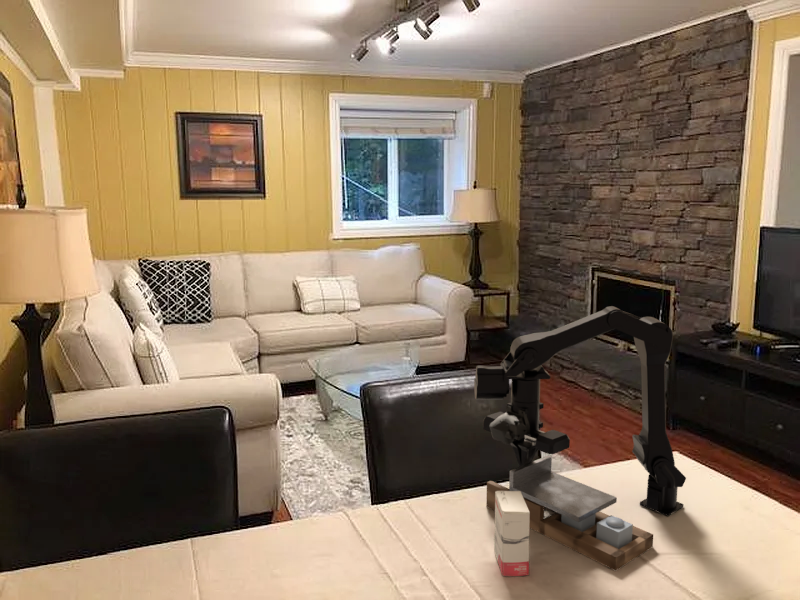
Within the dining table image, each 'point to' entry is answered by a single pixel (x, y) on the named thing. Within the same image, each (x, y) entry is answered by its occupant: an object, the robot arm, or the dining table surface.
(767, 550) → the dining table surface
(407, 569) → the dining table surface
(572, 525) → the pale blue studded block
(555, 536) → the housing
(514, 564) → the ink box
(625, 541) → the domed grey cube
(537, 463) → the lid
